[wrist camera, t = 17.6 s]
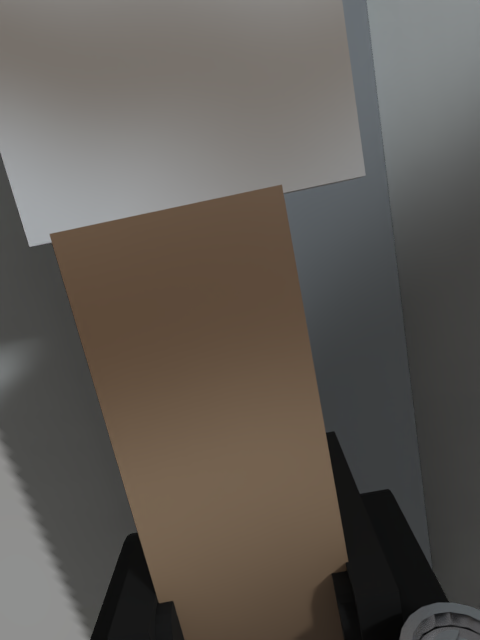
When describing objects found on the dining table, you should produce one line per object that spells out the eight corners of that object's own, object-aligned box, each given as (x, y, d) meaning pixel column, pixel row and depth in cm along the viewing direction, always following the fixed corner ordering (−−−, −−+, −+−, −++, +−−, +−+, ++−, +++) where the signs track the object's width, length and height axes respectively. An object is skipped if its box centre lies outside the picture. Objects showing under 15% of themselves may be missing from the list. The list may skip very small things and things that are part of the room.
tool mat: (-32, -86, 11) (-45, -99, 10) (338, -183, 10) (342, -203, 10) (200, 681, 17) (199, 695, 17) (437, 647, 17) (443, 660, 16)
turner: (-60, -118, 7) (-396, -490, 3) (299, -209, 7) (371, -722, 3) (213, 796, 12) (200, 1074, 8) (436, 764, 12) (533, 1034, 8)
